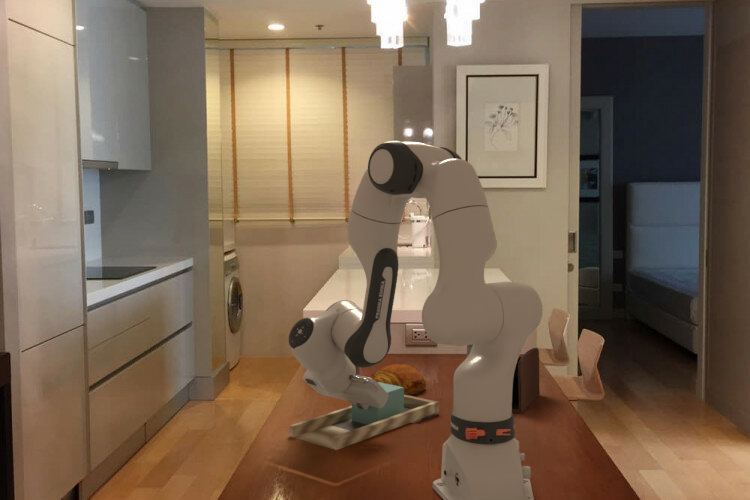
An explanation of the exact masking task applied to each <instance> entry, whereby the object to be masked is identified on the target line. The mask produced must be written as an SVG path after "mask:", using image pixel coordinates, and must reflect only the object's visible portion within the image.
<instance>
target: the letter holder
mask: <svg viewBox="0 0 750 500" xmlns="http://www.w3.org/2000/svg"><path fill="white" fill-rule="evenodd" d="M540 393H541V392H540V350H539V347H533V348H531V349H529V350H527V351H526V352H525V353H524V354H523V355H522V356H519V358H518V361H517V364H516V367H515V371H514V377H513V391H512V414H520V415H521V414H522V413H523V412H524V411H525V409H527V408H528V407H529V406H530V405H531V404H532V403H533V402H534V401H535V399H536V398H538V396H540Z"/></svg>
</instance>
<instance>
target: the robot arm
mask: <svg viewBox="0 0 750 500" xmlns="http://www.w3.org/2000/svg"><path fill="white" fill-rule="evenodd" d="M412 198H414V199H426V201H427V203H428V206H429V210H430V216H431V220H432V225H433V229H434V235H435V240H436V243H437V244H436V245H437V250H438V251H437V252H438V256H439V257H438V259H439V268H438V269H439V270H438V274H437V275H438V276H437V280H436V283H435V286H434V288H433V289H432V292H431V293H430V294H429V295H428V296H427V298H426V299H425V302H424V304H423V306H422V311H421V322H422V326H423V329H424V331H425V333H426V335H427V336H428V338H429V339H430V340H431V341H432V342H434V343H436V344H438V345H444V346H454V347H455V346H456V347H463V346H467V345H471V344H473V347H472V349H471V352H470V354H469V355H468V357H467V356H466V358H465V359H464V360H463V362H461V363H460V365H458V366H457V368H456V369H455V371H454V374H453V383H452V385H453V389H452V390H453V391H452V392H453V393H452V394H453V396H452V398H453V399H452V400H453V401H452V403H453V404H452V405H453V406H452V407H453V408H452V411H451V414H450V419H449V424H450V433H451V434H450V436H449V437H448V438H447V440H445V441H444V443H443V444H442V451H441V472H440V478H438V479H435V480H434V481H433V482H432V489H433V490H434V491H435V492H436V493H437V494H438V496H439V497H440V498H442V499H443V500H535V499H534V494H533V488H532V484H531V480H530V479H531V476H532V475H531V474H532V471H531V466H530V465H522V462H523V461H525V460H526V459H525V457H526V455H525V453H523V452H522V453H521V452H520V441H519V440H518V439H517V438H516V421H515V417H514V413H512V391H513V377H514V371H515V367H516V364H517V361H518V358H519V357H520V354H521V352H522V350H523V347H524V345H525V344H526V341H527V340H528V338H529V337H530V335H531V334H532V333H533V332H534V331H535V330H536V329H537V328H538V327H539V325H540V323H541V321H542V318H543V303H542V300H541V298H540V295H539V294H538V292H537V291H536V290H535V289H534V288H533V287H532V286H530V285H529V284H525V283H520V282H514V281H499V282H498V281H497V282H489V283H486V281H485V266H486V263H487V262H488V261H490V259H491V258H492V257H493V255H494V254H495V253H496V251H497V246H498V243H497V242H498V241H497V238H496V233H495V230H494V225H493V221H492V216H491V213H490V209H489V204H488V201H487V197H486V194H485V191H484V188H483V185H482V183H481V181H480V178H479V176H478V173H477V172H476V169H475V168H474V166H473V164H472V163H470V162H469V161H467V160H465V159H463V158H462V157H461V156H460V155H459V154H458V153H457V152H455V151H454V150H452V149H449V148H447V147H445V146H440V147H439V146H435V145H432V144H426V143H424V142H417V141H400V140H391V141H390V140H389V141H385V142H382V143H380V144H378V145H377V146H376V147H374V149H373V150H372V152H371V154H370V156H369V158H368V163H367V169H366V170H365V171H364V174H363V175H362V177H361V180H360V181H359V184H358V187H357V189H356V192H355V195H354V198H353V201H352V205H351V209H350V212H349V215H348V216H349V217H348V221H347V241H348V243H349V245H350V247H351V249H352V250H353V251H354V254H355V255H356V257H357V259H358V260H359V261H360V262H359V263H360V264H361V266H362V268H363V271H364V275H365V280H366V288H365V295H364V300H363V307H362V308H361V307H360V306H359V305H357V304H356V303H355V302H353V301H351V300H347V299H345V300H338V301H336V302H334V303H332V304H331V305H329V307H328V308H327V309H326V310H324V311H323V312H321V313H320V314H318V315H314V316H307V317H302V319H299V320H298V321H297V322H296V323H295V324H294V325H293V326H292V327H291V329H290V331H289V334H288V345H289V349H290V350H291V352H292V354H293V355H294V357H295V359H296V360H297V361H298V363H300V365H301V366H302V367H303V368H304V369H305V372H304V374H303V376H302V381H304V382H305V383H306V384H308V385H309V386H310V387H311V388H312V389H313V390H314V391H315V392H317V393H318V394H320V395H322V396H326V397H331V398H335V399H338V400H342V401H343V400H344V401H347V402H348V403H350V404H351V405H352V404H353V405H355V407H356V408H359V409H364V410H367V409H368V407H369V406H372V407H377V408H383V407H384V405H385V403H386V402H387V400H388V397H389V395H388V393H387V392H386V391H385V390H384V389H383V388H382V387H381V386H380V385H379V384H378V383H377V382H376V381H375V380H373V379H372V377H368V376H364V375H362V376H359V375H355V374H356V369H355V366H357V367H361V368H362V369H363V368H371V367H373V366H376V365H378V364H380V363H381V362H382V361H383V360H384V359H385V358H386V357H387V355H388V353H389V352H390V349H391V344H392V332H391V323H392V322H391V320H392V313H393V309H394V307H393V306H394V302H395V294H396V289H397V282H398V275H399V257H398V244H399V243H398V242H399V233H400V227H401V224H402V220H403V216H404V212H405V207H406V206H407V204H408V202H409V201H410V200H411V199H412ZM354 365H355V366H354Z"/></svg>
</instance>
